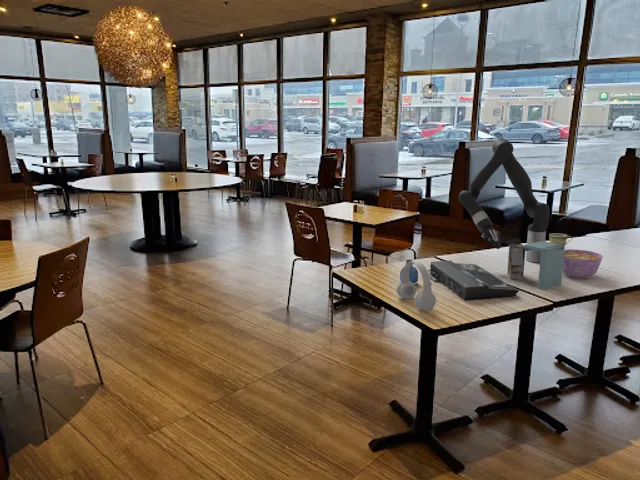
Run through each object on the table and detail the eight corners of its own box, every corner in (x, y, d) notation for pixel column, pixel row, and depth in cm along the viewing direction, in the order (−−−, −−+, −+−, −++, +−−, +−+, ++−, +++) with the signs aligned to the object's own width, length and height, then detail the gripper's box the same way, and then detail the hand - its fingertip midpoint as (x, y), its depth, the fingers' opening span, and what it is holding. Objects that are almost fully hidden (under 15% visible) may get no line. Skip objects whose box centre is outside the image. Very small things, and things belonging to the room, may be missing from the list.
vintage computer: (520, 297, 217) (521, 279, 215) (460, 303, 213) (460, 286, 211) (475, 271, 258) (476, 257, 257) (424, 276, 254) (424, 262, 252)
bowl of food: (550, 277, 244) (552, 255, 241) (563, 268, 258) (565, 247, 256) (594, 285, 231) (596, 261, 228) (605, 275, 245) (607, 253, 242)
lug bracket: (538, 278, 242) (542, 241, 237) (561, 285, 232) (564, 245, 227) (521, 283, 235) (524, 244, 231) (543, 290, 225) (547, 249, 221)
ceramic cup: (550, 252, 289) (551, 236, 287) (545, 248, 299) (547, 233, 297) (573, 253, 287) (575, 237, 285) (568, 249, 297) (569, 233, 295)
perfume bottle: (407, 281, 243) (407, 258, 240) (417, 283, 239) (418, 260, 236) (400, 283, 239) (400, 260, 236) (410, 286, 235) (410, 262, 232)
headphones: (436, 310, 204) (438, 266, 199) (419, 313, 201) (420, 269, 196) (411, 295, 222) (412, 255, 218) (395, 298, 219) (396, 257, 215)
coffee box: (523, 279, 241) (526, 248, 238) (509, 279, 243) (512, 247, 239) (520, 274, 250) (522, 244, 246) (506, 273, 251) (508, 243, 248)
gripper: (477, 218, 254) (495, 245, 246) (495, 216, 260) (512, 242, 253) (469, 226, 260) (486, 253, 252) (486, 224, 266) (503, 250, 258)
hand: (499, 248), depth 252 cm, fingers closed
